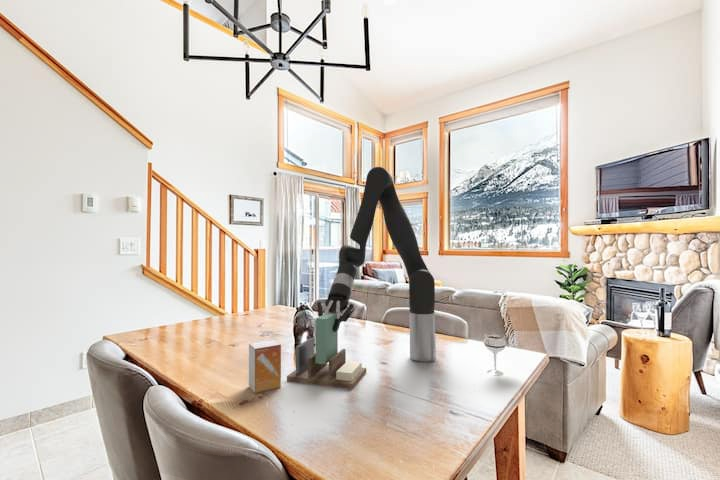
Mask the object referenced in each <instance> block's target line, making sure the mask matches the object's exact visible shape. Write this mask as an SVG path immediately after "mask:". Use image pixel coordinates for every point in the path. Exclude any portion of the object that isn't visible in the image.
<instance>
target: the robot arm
mask: <svg viewBox="0 0 720 480" xmlns="http://www.w3.org/2000/svg"><path fill="white" fill-rule="evenodd" d="M365 179H366V180H365V184H364V190H363V194H362V198H361V202H360V206H359V209H358V213H357V215H356V217H355V220H354V224H353V227H352V229H351V232H350V235H349V238H350V239H351V241H354V242H355V243H356V244H357V245H358V247H359V248H358V247H355V246H352V245H350V244H345V245H343V246H342V247H340V249H339V251H338V268H337V271H336V274H335V278H334V279H333V281H332V284H331V287H330V289H329V293H328V296H327V299H326V300H325V301H324V302H320V301H319V302H317V305H316V306H317V315H318V317H320V316H322V315H324V314H326V313H329V312H330V313H337V315H336V319H335V322H334V325H333V332H336V331H337V330H338V331H339V328H340V324H341V323H342V322H346V323H347V321H348V319H350V317H351V316H352V315H353V313H354V311H355V306H354V304H353V303H350V302H349V301H350V299H351V295H352V291H353V288H354V282H355V278H356V275H357V268H359V267H361V266H363V265H364V263H365V260H366V249H367V248H366V247H367V243H368V239H369V237H370V233H371V231H372V228H373V226H374V225H373V224H374V219H375V215H376V211H377V206H378V203H379V204H380V206H381V208H382V209H381V210H382V214H383V218H384V220H383V221H384V223H385V228H386V230H387V233H388V235H389V238H390V240H391V242H392V244H393V246H394V248H395V250H396V253H398V255H399V256H400V258H401V260H402V262H403V266H404V267H405V271H406V274H407V276H408V277H407V278H408V282H409V283H408V287H409V288H408V289H409V291H408V292H409V293H408V295H409V296H408V297H409V300H408V302H409V303H408V305H409V308H408V309H409V358H410V359H411V360H413V361H416V362H421V363H422V362H423V363H426V362H435V360H436V354H437V353H436V352H437V349H436V330H435V329H436V328H435V306H436V305H435V304H436V302H435V301H436V300H435V299H436V295H435V294H436V293H435V292H436V291H435V290H436V284H435V279H434V278H435V277H434V276H433V274H432V273H431V272H430V270H429V268H428V267H427V265H426V263H425V261H424V259H423V257H422V255H421V251H420V249H419V244H418V240H417V237H416V234H415V230H414V228H413V225H412V223H411V221H410V219H409V217H408V215H407V213H406V211H405V209H404V206H403V205H402V203H401V201H400V199H399V197H398V195H397V194H398V193H397V191H396V188H395V183H394V180H393V177H392V174H391V173H390V172H389V171H388V170H387V169H386V168H384V167H383V166H374V167H372V168H370V170H369V171H368V172H367V174H366V178H365ZM349 303H350V304H349Z"/></svg>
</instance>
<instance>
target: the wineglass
mask: <svg viewBox="0 0 720 480" xmlns="http://www.w3.org/2000/svg"><path fill="white" fill-rule="evenodd" d="M483 336H484V340H483V344H484V347H486V349H487V350H488V351H490V352H492V353H493V362H494V366H493V367H494V369H489V370H487V372H486V373H488V374H489V375H493V376H503V375H504V372H502V371H500V370H497V354H498V353H500V352H502V351H503V350H504V349H505V348H506V347H507V346H506V345H507V341H506V340H505V339H506V336H505V335H504V334H499V333H485V334H484V335H483Z"/></svg>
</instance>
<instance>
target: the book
mask: <svg viewBox="0 0 720 480" xmlns="http://www.w3.org/2000/svg"><path fill="white" fill-rule="evenodd" d="M336 315H337V313H330V312H329V313H326V314H324V313H323V315H322V316H320V317H319V316H318V317H316V318H315V353H316V356H315V363H318V364H329V360H330V359H331V358H332V357H333V356H335V355H336V354H337V353H338V352H339V350H338V346H339V345H338V344H339V343H338V342H339V340H338V339H339V338H338V334H339V333H338V332H339V329H338V330H337V331H336V332H333V325H334V322H335V319H336Z"/></svg>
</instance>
